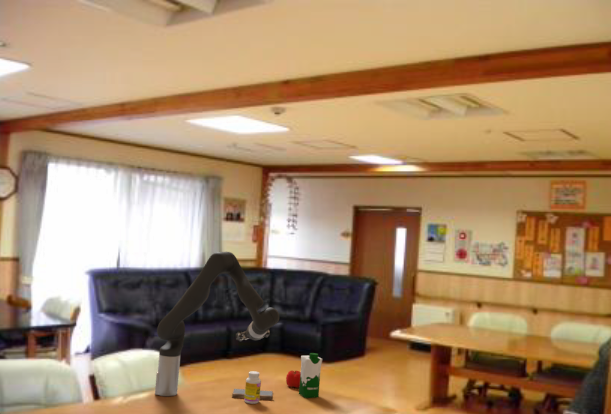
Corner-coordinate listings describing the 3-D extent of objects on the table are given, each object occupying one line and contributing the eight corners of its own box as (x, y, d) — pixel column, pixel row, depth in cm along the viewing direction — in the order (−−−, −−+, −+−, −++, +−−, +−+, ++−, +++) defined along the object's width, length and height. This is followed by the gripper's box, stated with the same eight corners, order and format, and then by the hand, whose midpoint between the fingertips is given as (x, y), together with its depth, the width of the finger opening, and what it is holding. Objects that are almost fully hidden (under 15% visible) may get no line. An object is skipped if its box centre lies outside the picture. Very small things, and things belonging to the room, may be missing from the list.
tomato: (284, 384, 300) (285, 369, 300) (301, 384, 302) (302, 369, 302) (287, 389, 291) (289, 373, 291) (305, 389, 293) (307, 374, 293)
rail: (232, 397, 270) (232, 393, 270) (232, 396, 271) (232, 392, 271) (272, 400, 271) (272, 396, 271) (272, 399, 272) (272, 395, 272)
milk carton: (304, 398, 277) (307, 355, 278) (296, 393, 285) (299, 350, 286) (321, 397, 281) (324, 354, 281) (312, 392, 289) (315, 350, 289)
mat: (232, 395, 273) (232, 394, 273) (234, 389, 283) (234, 388, 283) (272, 398, 273) (272, 397, 274) (272, 392, 283) (272, 391, 283)
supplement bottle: (256, 405, 262) (259, 375, 262) (242, 402, 263) (244, 373, 263) (261, 400, 268) (263, 371, 269) (246, 398, 270) (249, 370, 270)
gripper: (272, 319, 259) (263, 328, 273) (239, 321, 255) (232, 331, 269) (274, 336, 256) (266, 345, 270) (241, 339, 252) (234, 348, 266)
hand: (249, 338), depth 269 cm, fingers open, 8 cm apart
